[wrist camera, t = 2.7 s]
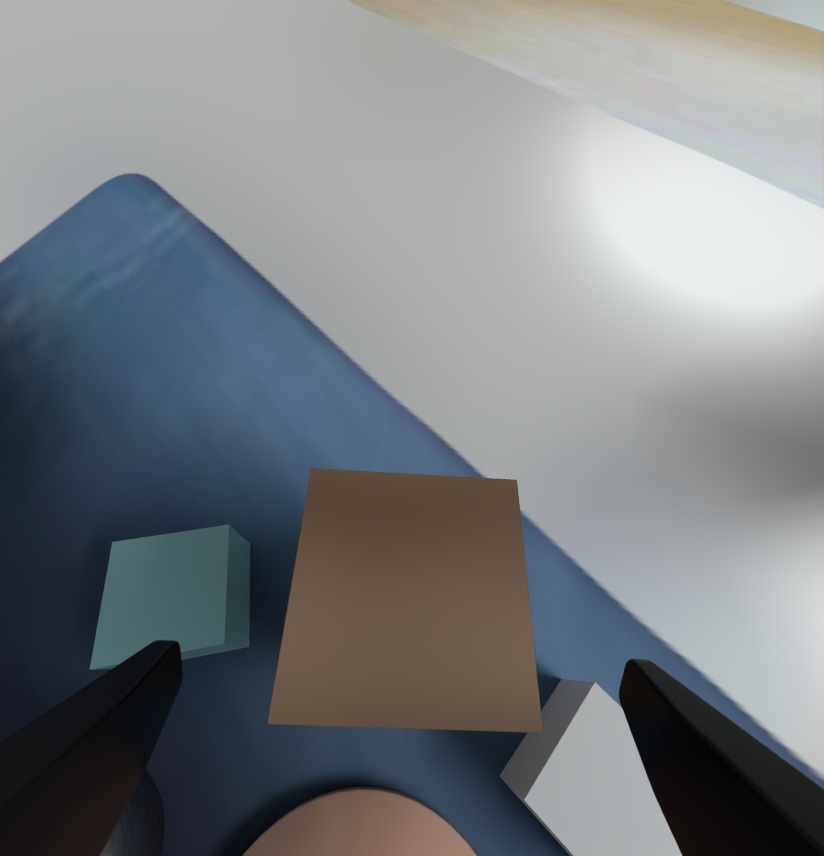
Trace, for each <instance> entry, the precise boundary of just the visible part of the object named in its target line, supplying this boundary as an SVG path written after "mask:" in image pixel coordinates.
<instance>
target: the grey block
mask: <svg viewBox="0 0 824 856" xmlns="http://www.w3.org/2000/svg"><path fill="white" fill-rule="evenodd" d="M541 718H542V727H543V733H532V732H527V734H526V735H525V737H524V738H523V740H522V742H521V743H520V745H519V746H518V748H517V749H516V751H515V752H514V754H513V756H512V757H511V759H510V760H509V762H508V763H507V765H506V767H505V768H504V770H503V771H502V773H501V774H500V777H501V779H502V780H503V781H504V782H505V783H506V784H507V785H508V786H509V788H510V789H511V790H512V791H513V792H514V793H515V794H516V795H517V797H518V798H519V799H520V800H521V801H522V802H523V803H524V804H525V806H526V807H527V808H528V809H529V810H530V811H531V812H532V813H533V815H534V816H535V817H536V818H537V819H538V820H539V821H540V822H541V824H542V825H543V826H544V827H545V828H546V829H547V830H548V832H549V833H550V834H551V835H552V836H553V837H554V838H555V839H556V841H557V842H558V843H559V844H560V845H561V846H562V847H563V848H564V850H565V851H566V852H567V853H568V854H569V855H570V856H682V854H681V852H680V850H679V848H678V845H677V843H676V841H675V839H674V837H673V835H672V832H671V830H670V828H669V826H668V824H667V822H666V819H665V817H664V815H663V813H662V811H661V808H660V806H659V804H658V802H657V799H656V797H655V795H654V793H653V790H652V787H651V785H650V782H649V780H648V777H647V775H646V772H645V769H644V766H643V764H642V761H641V758H640V755H639V753H638V750H637V747H636V744H635V742H634V739H633V736H632V734H631V731H630V728H629V725H628V723H627V720H626V717H625V714H624V712H623V709H622V708H621V707H620V706H619V705H618V704H617V703H616V702H615V701H614V700H613V699H612V698H611V697H610V696H609V695H608V694H607V693H605V692H604V691H603V690H602V689H601V688H600V687H599V686H598V685H597V684H596V683H595V682H586V681H575V680H565V679H561V681H560V682H559V684H558V685H557V687H556V689H555V690H554V692H553V693H552V695H551V696H550V698H549V699H548V701H547V703H546V704H545V706H544V707H543V709H542V710H541Z"/></svg>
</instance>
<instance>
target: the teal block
mask: <svg viewBox="0 0 824 856" xmlns="http://www.w3.org/2000/svg"><path fill="white" fill-rule="evenodd" d="M249 620H250V543H249V542H248V541H247V540H246V539H245V538H243V537H242V536H241V535H240V534H239V533H238V532H237V531H236V530H235V529H234V528H232V527H231V526H230V525H222V526H215V527H209V528H202V529H195V530H189V531H182V532H176V533H169V534H162V535H156V536H149V537H142V538H136V539H129V540H122V541H116V542H112V547H111V552H110V558H109V564H108V569H107V575H106V580H105V586H104V592H103V597H102V603H101V609H100V614H99V620H98V625H97V631H96V637H95V642H94V648H93V653H92V659H91V665H90V670H98V669H113V668H114V667H116V666H117V665H119V664H120V663H122V662H123V661H125V660H126V659H128V658H129V657H131V656H132V655H134V654H135V653H137V652H138V651H140V650H141V649H143V648H144V647H146V646H147V645H149V644H150V643H152V642H154V641H156V640H175V641H177V642H178V643H179V644H180V650H181V660H185V659H190V658H195V657H200V656H205V655H211V654H216V653H221V652H226V651H231V650H236V649H242V648H247V647H249Z"/></svg>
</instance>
